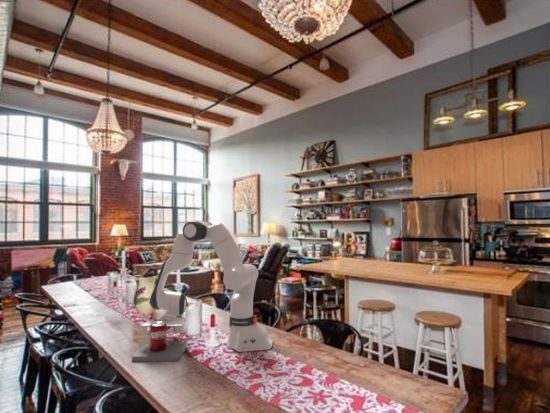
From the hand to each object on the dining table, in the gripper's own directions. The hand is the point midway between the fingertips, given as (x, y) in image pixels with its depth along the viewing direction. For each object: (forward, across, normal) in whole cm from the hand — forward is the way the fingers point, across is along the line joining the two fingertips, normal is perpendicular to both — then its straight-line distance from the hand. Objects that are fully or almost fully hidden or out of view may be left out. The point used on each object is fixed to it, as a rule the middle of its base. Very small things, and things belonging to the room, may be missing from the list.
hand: (157, 332), depth 148 cm
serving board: (-1, +1, +10) cm, 10 cm away
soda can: (-1, 0, +8) cm, 8 cm away
